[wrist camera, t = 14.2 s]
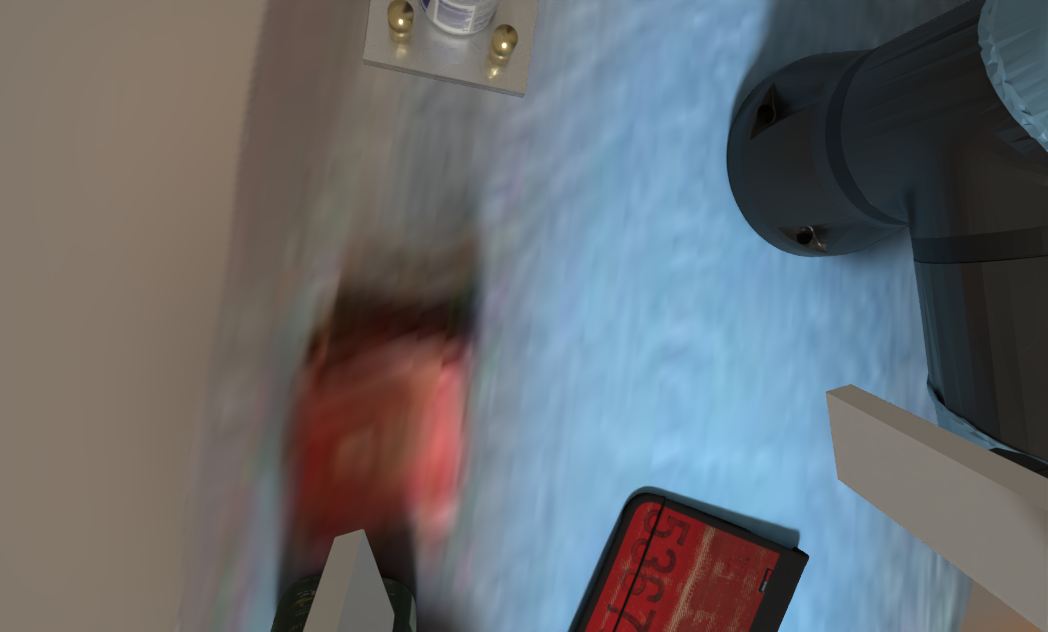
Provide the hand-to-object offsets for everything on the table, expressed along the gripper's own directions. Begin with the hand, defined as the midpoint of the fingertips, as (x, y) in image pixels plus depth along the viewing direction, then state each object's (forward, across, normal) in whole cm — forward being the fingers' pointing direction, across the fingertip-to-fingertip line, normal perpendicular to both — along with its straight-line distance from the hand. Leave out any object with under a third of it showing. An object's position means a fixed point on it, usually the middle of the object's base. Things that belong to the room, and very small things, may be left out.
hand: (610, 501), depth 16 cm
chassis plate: (+30, +2, +21) cm, 37 cm away
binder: (+25, +5, -29) cm, 39 cm away
